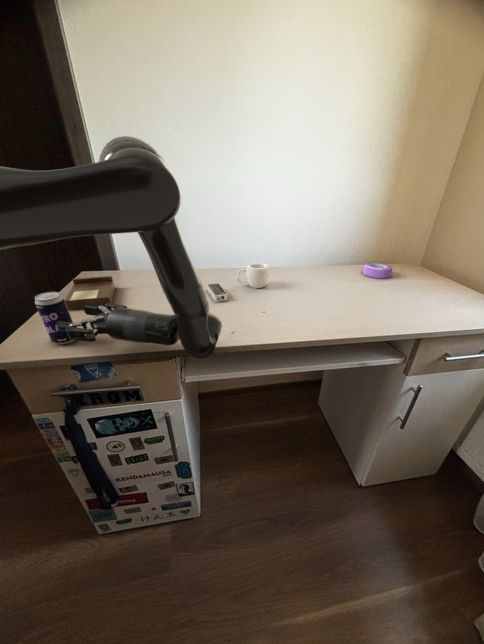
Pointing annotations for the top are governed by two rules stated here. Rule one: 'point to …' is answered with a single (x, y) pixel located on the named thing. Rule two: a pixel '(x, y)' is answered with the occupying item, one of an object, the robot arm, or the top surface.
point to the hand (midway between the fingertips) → (72, 317)
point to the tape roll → (377, 270)
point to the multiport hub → (217, 292)
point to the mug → (256, 275)
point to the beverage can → (53, 315)
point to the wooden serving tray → (90, 292)
